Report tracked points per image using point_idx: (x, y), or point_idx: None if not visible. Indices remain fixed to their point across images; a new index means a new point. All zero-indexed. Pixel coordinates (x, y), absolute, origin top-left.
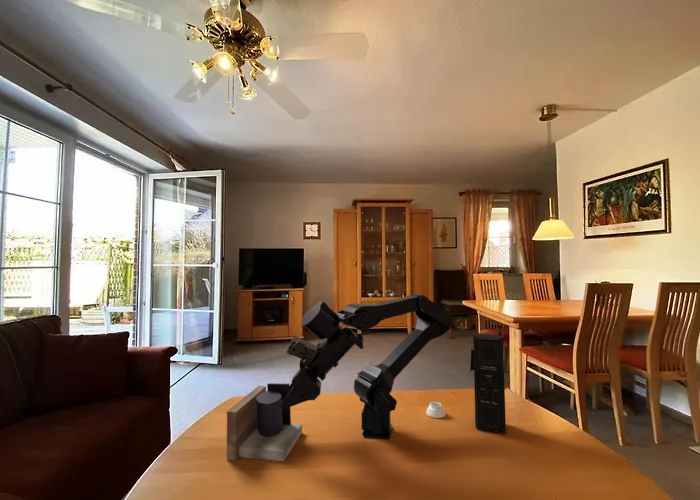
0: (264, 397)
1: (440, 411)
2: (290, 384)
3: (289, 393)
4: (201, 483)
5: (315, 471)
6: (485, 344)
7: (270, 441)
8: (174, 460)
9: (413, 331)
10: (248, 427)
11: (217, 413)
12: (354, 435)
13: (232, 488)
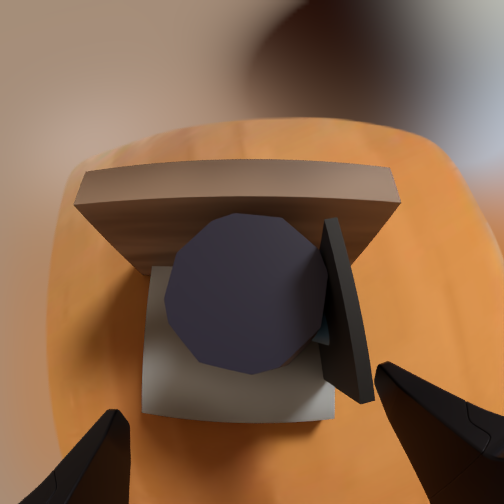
0: (231, 262)
1: None
2: (410, 378)
3: (45, 482)
4: (75, 244)
5: (131, 487)
6: None
7: (191, 353)
8: (151, 152)
9: None
10: None
11: (359, 131)
12: None
13: (58, 314)
